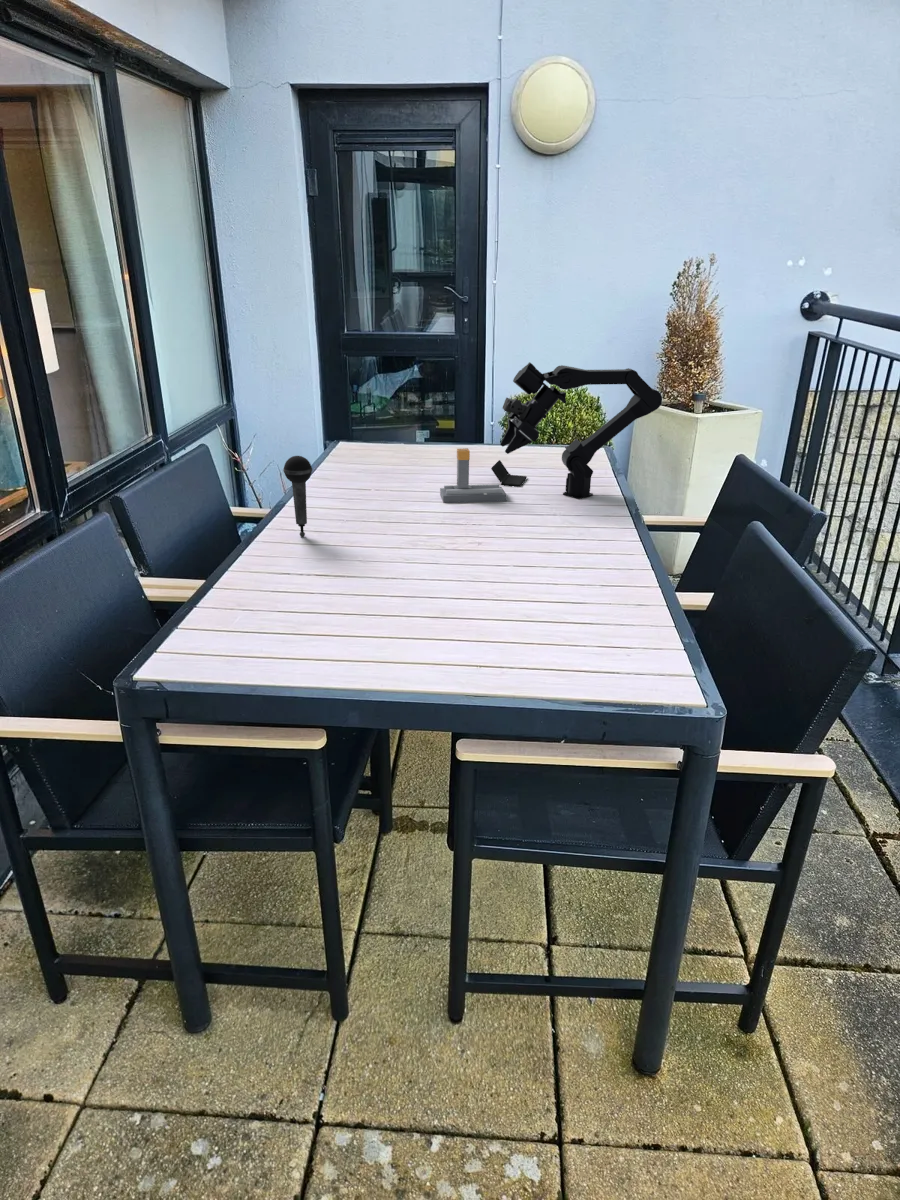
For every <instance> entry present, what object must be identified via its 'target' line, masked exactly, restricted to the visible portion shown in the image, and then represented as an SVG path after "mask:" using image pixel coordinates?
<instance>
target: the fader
mask: <svg viewBox="0 0 900 1200" xmlns="http://www.w3.org/2000/svg"><path fill="white" fill-rule="evenodd" d="M470 453H471V452H470V450H469V448H456V485H457V486H453V489H472V487H471V485H472V484H469V482H470V481H469V480H470V456H471V454H470Z"/></svg>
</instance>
